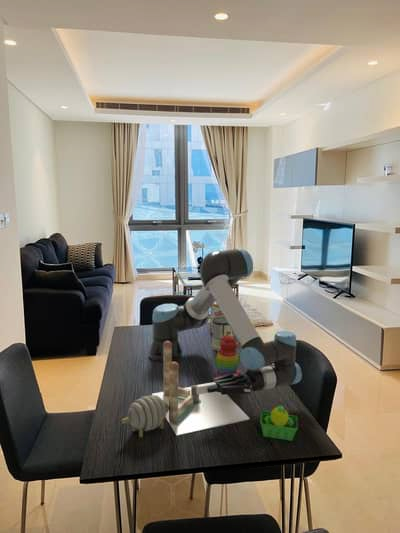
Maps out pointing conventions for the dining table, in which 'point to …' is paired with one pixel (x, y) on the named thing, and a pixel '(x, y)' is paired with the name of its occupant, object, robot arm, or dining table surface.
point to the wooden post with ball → (166, 361)
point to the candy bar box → (215, 314)
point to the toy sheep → (147, 413)
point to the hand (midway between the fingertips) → (197, 389)
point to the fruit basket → (279, 424)
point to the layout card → (205, 413)
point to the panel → (176, 394)
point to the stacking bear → (227, 357)
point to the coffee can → (219, 331)
